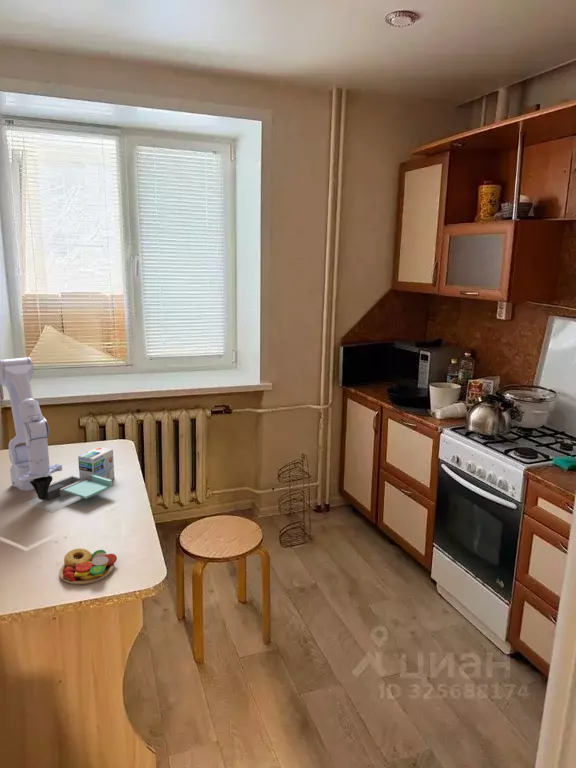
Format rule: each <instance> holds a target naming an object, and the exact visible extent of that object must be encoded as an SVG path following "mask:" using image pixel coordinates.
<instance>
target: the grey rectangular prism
mask: <svg viewBox="0 0 576 768" xmlns="http://www.w3.org/2000/svg"><path fill="white" fill-rule="evenodd" d="M63 487H65V486H64V485H61V484H57V485H55V486H52V487H50V488H48V492H47V497H46V499H45V500H48V501H50V500H53V499H55V498H57V497H60V491H59V489H61V488H63Z"/></svg>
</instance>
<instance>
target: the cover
mask: <svg viewBox="0 0 576 768" xmlns="http://www.w3.org/2000/svg"><path fill="white" fill-rule="evenodd" d="M113 486H114V485H113V479H111V480H110V479H106V478H103V477H100V476H96V475H93V474H88V475H87V480H85V481H83V482H81V483H78V484H76V485H74V486H71V487H69V488H66V489H64V492H66V493H69V494H73V495H76V496H79V497H82V498H83V499H85V500H87V499H89V498H91V497H93V496H95V495H97V494H100V493H103V492H104V491H106V490H109V489H110V488H111V489H112V488H113Z"/></svg>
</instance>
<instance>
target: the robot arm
mask: <svg viewBox="0 0 576 768" xmlns="http://www.w3.org/2000/svg"><path fill="white" fill-rule="evenodd" d="M33 374H34V363H33V360H32V358H30V357H29V356H27V357H16V358H9V359H7V358H5V359H0V386H3V387H6V390H7V392H8V396H9V402H10V409H11V413H12V418H13V424H14V431H15V436H14V437H13V438H12V439H10V441H9V442H8V458H9V461H10V463H11V465H10V466H11V467H10V469H9V470H10V471H9V472H10V481H11V482H10V483H11V486H12V487H15V488H17V489H18V490H20V491H32V490H35V493H36V495H37V497H38V498H39V499H40V500H44V499H46V497H47V492H48V488H49V485H50V484H52V481H53V476H52V474H53V473H56V472H62V471H63V466H62V464H60V463H56V464H51V465H50V458H49V457H50V456H49V444H48V438H49V437H50V426H49V423H48V420H47V419H46V418H45V416H43V414H42V410H41V408H40V407H41V406H40V404H39V401H38V400H36V399H34V397H33V391H32V387H31V379H32V377H33Z"/></svg>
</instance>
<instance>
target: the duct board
mask: <svg viewBox="0 0 576 768" xmlns="http://www.w3.org/2000/svg"><path fill="white" fill-rule="evenodd" d="M83 481H85V479H82V478H80V476H79V477H78V476H74V475H70V476H67V477H65V478H62V479H59V480H57V481H55V482H51V483H50V485H49V488H50V487H52V486H55V485H57V484H61V485H64V486H65V487H63V488H61V489H59V491H60V497H57V498H55V499H53V500H50V501H48V500H45V499H44V500H40V499H39V498H38V496H37V497H35V498H33V499H30V500H28V501H25V502H24V504H27V505H30V506H33V507H35V508H39V509H41V510H43V511H47V512H49V513H55V512H57V511H60V510H61V509H64V508H65V507H67V506H70V505H72V504H75V503H77V502H79V501H81V500H83V499H84V498H82V497H79V496H76V495H73V494H69V493H66V492H64V489H66V488H69V487H71V486H74V485H76V484H78V483H81V482H83Z"/></svg>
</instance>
